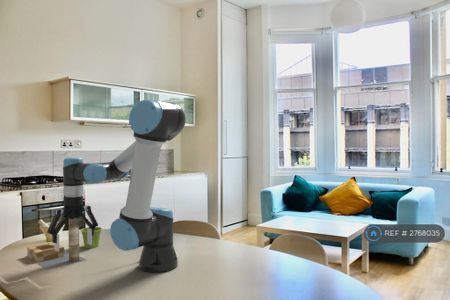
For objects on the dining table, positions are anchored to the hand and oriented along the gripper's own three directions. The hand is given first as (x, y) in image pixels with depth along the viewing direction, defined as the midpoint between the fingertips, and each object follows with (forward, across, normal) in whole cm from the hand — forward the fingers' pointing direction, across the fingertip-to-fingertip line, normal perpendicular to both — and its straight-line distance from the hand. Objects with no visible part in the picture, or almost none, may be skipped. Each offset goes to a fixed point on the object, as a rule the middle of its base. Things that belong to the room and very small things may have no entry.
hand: (73, 247), depth 157 cm
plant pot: (+6, -15, -15) cm, 22 cm away
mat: (+6, +4, -9) cm, 11 cm away
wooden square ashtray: (+6, +6, -14) cm, 16 cm away
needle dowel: (+5, 0, 0) cm, 5 cm away
